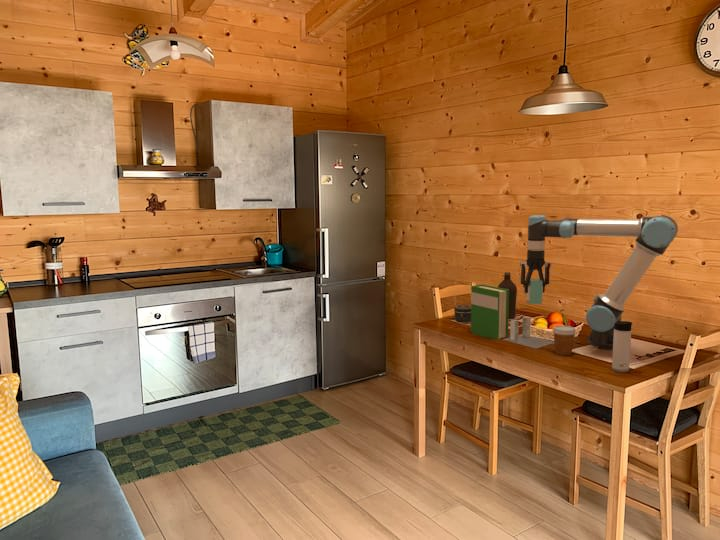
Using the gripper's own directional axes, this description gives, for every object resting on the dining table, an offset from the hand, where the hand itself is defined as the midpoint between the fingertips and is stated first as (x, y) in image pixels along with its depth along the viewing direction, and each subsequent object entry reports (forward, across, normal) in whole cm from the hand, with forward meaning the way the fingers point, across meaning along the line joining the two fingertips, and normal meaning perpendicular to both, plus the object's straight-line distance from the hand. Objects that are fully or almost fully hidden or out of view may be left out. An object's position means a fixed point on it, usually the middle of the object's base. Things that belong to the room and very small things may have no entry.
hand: (534, 299), depth 258 cm
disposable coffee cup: (+21, -7, +18) cm, 29 cm away
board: (+21, +1, -2) cm, 21 cm away
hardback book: (+21, +16, -15) cm, 31 cm away
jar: (+21, +22, -47) cm, 56 cm away
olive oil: (+21, -3, -52) cm, 56 cm away
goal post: (+21, 0, -8) cm, 23 cm away
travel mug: (+21, -22, +39) cm, 50 cm away
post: (+21, +8, -3) cm, 23 cm away
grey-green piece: (+1, 0, 0) cm, 1 cm away
